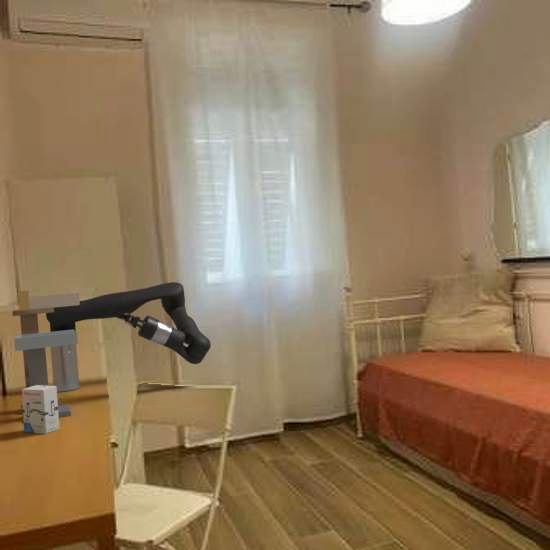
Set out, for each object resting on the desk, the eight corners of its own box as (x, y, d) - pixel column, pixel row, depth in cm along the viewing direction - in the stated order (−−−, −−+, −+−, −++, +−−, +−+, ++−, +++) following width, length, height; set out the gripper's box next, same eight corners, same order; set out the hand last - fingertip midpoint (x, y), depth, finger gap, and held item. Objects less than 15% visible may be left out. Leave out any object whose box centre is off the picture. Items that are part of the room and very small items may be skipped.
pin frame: (22, 415, 181) (16, 335, 182) (80, 406, 188) (74, 329, 188) (21, 424, 168) (14, 338, 168) (83, 414, 174) (76, 332, 174)
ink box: (23, 432, 158) (19, 388, 158) (38, 427, 162) (35, 385, 162) (45, 434, 154) (42, 389, 154) (60, 429, 158) (57, 385, 158)
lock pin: (20, 310, 190) (18, 291, 190) (78, 304, 197) (77, 286, 197) (19, 310, 185) (18, 291, 185) (79, 305, 192) (78, 286, 192)
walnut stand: (21, 409, 191) (13, 310, 191) (61, 403, 195) (53, 307, 195) (20, 414, 182) (12, 311, 183) (62, 408, 187) (53, 307, 187)
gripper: (154, 342, 195) (108, 322, 190) (146, 339, 209) (103, 320, 203) (163, 321, 197) (118, 301, 192) (155, 319, 210) (113, 300, 205)
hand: (111, 311), depth 198 cm, fingers open, 8 cm apart
